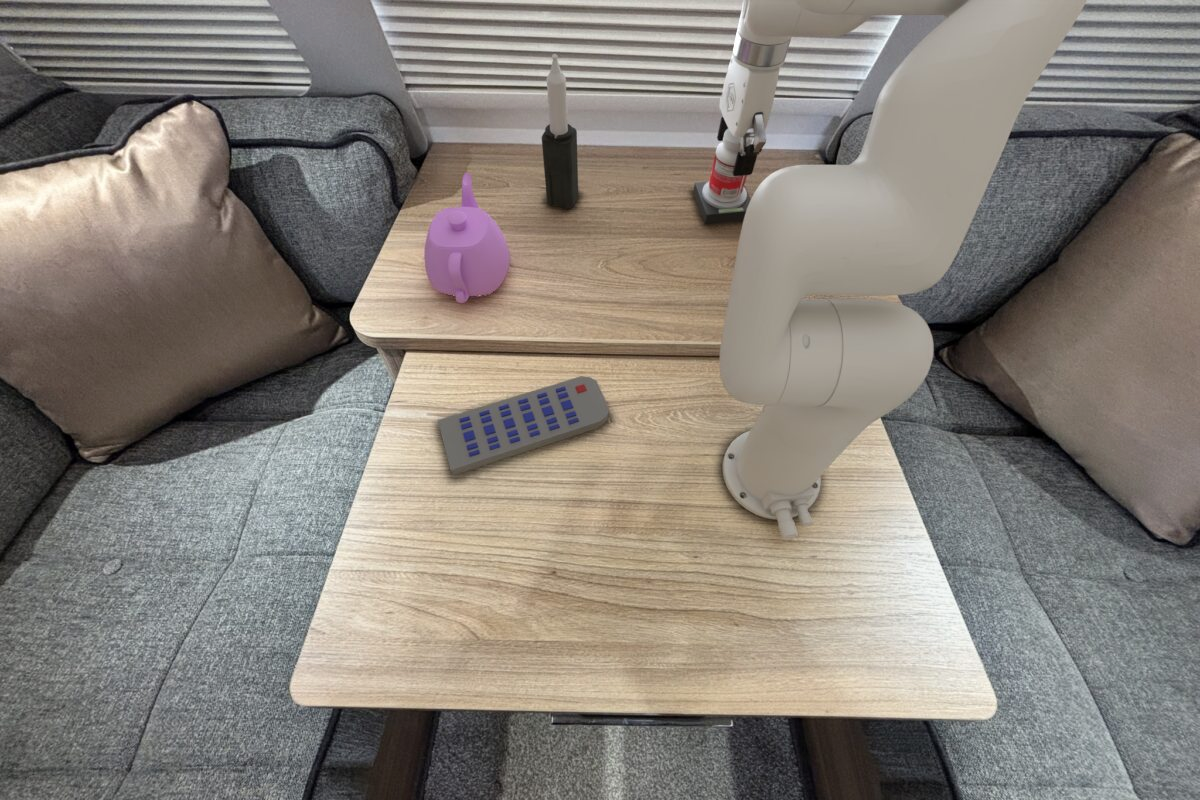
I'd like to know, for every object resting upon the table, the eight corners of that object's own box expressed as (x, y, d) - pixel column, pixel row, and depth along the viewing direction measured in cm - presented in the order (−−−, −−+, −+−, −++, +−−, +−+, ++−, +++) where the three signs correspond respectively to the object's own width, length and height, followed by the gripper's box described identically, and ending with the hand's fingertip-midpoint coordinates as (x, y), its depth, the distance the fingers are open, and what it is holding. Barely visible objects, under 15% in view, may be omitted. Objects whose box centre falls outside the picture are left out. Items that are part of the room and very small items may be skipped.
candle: (545, 204, 98) (532, 59, 77) (554, 187, 101) (544, 43, 79) (571, 210, 97) (565, 65, 76) (580, 193, 100) (576, 48, 79)
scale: (752, 220, 96) (756, 207, 94) (704, 224, 96) (707, 212, 93) (738, 188, 101) (742, 175, 99) (692, 192, 100) (695, 179, 98)
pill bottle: (723, 177, 98) (737, 119, 89) (748, 194, 96) (765, 136, 86) (700, 190, 96) (711, 132, 87) (724, 208, 94) (739, 150, 84)
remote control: (441, 426, 74) (437, 418, 72) (593, 379, 78) (593, 370, 76) (453, 476, 70) (449, 469, 68) (613, 423, 74) (613, 415, 72)
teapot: (507, 315, 84) (496, 259, 74) (423, 315, 84) (400, 259, 74) (516, 228, 95) (507, 169, 84) (441, 228, 94) (423, 169, 84)
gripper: (719, 19, 80) (699, 128, 94) (753, 80, 71) (726, 191, 85) (767, 16, 80) (740, 125, 95) (807, 77, 71) (770, 187, 86)
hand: (733, 156), depth 90 cm, fingers open, 9 cm apart
